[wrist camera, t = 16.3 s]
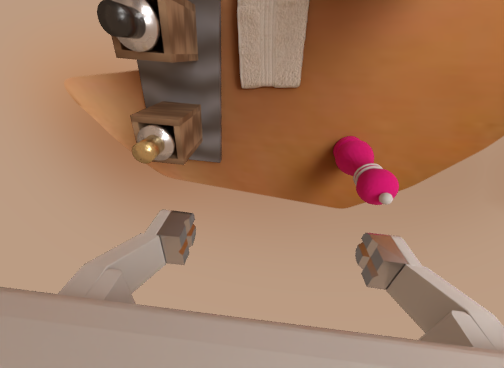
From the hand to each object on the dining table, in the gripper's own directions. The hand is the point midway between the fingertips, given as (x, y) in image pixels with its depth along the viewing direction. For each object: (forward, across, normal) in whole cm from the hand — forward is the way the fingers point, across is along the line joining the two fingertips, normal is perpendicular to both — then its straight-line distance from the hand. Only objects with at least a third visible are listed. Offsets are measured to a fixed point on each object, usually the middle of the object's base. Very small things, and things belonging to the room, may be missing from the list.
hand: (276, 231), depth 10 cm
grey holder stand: (+39, +19, -1) cm, 43 cm away
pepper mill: (+39, -18, +10) cm, 44 cm away
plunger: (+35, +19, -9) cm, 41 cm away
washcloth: (+40, +2, -10) cm, 41 cm away
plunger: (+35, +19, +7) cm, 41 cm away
